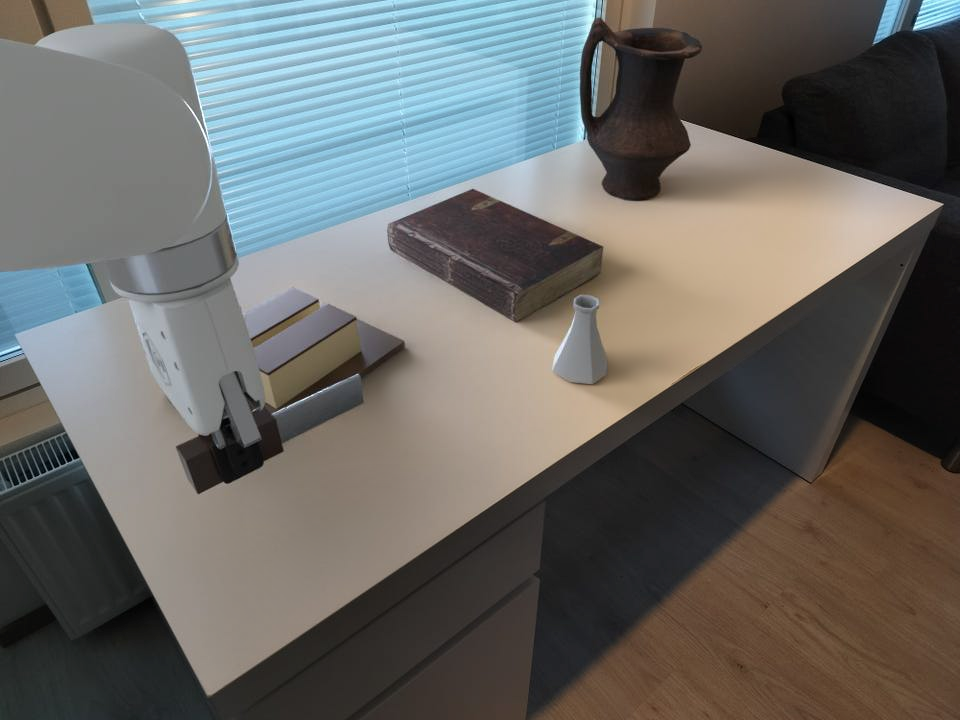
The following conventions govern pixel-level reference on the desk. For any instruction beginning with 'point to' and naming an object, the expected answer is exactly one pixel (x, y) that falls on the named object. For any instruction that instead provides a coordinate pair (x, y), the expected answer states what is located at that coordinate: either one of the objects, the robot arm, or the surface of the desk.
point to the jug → (637, 107)
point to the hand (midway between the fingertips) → (235, 462)
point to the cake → (299, 342)
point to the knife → (272, 429)
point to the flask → (582, 345)
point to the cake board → (352, 361)
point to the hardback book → (496, 252)
